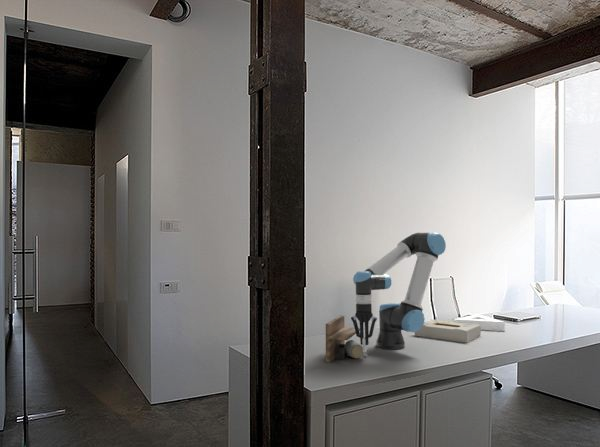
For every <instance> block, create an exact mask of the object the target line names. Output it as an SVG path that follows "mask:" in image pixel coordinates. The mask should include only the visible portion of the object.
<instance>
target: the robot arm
mask: <svg viewBox="0 0 600 447" xmlns="http://www.w3.org/2000/svg"><path fill="white" fill-rule="evenodd" d="M446 249H447V244H446V240H445V238H444V236H443V235H442V234H440V233H438V232H415V233H413V234H410V235H409V236H407V237H405V238H403V239H402V240H401V241H399V242H398V243H397V245H396V247H394V248H393V249H392V250H391V251H389V252H388V253H387V254H385V255H384V256H382V257H381V258H379V259H378V260H377V261H375V263H373V264H372V265H370V266H369V267H368V268H367V269H365V270H361V271H357V272H355V274H354V275H353V278H352V280H353V284H354V285H355V302H356V304H355V315H354V316H352V317H351V318H350V319H351V321H352V323H353V324H352V325H353V328H355V332H356V334H355V335H356V337H357V338H359V340H360V345H361V346H362V347H363V352H365V353H367V351H368V350H367V346H369V343H370V342H369V339H370V338H371V337H373V333H374V329H375V324H376V322H377V320H379V332H378V335H377V338H376V343H375V344H376V347H377V348H379V349H384V350H401V349H403V348H405V347H406V345H405V340H404V336H403V333H402V331H405V332H406V333H414V332H417V331H418V330H420V329H421V328H422V326H423V324H424V322H425V320H426V319H425V315H424V312H423V310H424V309H423V307H422V302H423V299H424V297H425V296H424V295H425V292H426V289H427V286H428V282H429V278H430V276H431V272H432V268H433V265H434V263H435V262H436V261H438V259H439V256H440V255H442V254H444V253H445V252H446ZM413 255H416V257H417V258H416V261H415V264H414V268H413V271H412V275H411V278H410V281H409V284H408V287H407V291H406V293H405V298H404V300H402V301H400V302H398V303H397V302H396V303H395V302H394V303H392V302H391V303H382V304H380V305H379V308H378V309H379V310H378V317H379V318H378V317H375V316H374V314H373V312H372V311H373V310H372V291H377V290H378V291H379V290H380V291H381V290H384V291H385V290H388V289H390V288H391V286H392V278H391V276H390V275H389V274H386V273H387V272H389V271H390V270H392V268H393V267H395V266H396V265H398V264H399V263H401V261H403V260H404V259H405V258H406V259H408V258H410V257H411V256H413ZM357 320H358V322H359V325H358V322H357ZM370 321H371V324H370V323H369V322H370ZM369 324H370V329H369ZM359 328H360V331H359Z"/></svg>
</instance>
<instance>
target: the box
mask: <svg viewBox="0 0 600 447" xmlns="http://www.w3.org/2000/svg"><path fill="white" fill-rule="evenodd" d="M481 332H482V330H481V328H480V325H477V324H469V323H466V324H463V323H455V322H454V321H445V320H438V319H429V320H426V321H424V324H423V326H422V328H421V329H420V330H418V331H417V332H413V333H414V336H416V337H417V336H418V337H423V338H430V339H439V340H444V341H454V342H459V343H460V342H461V343H469V342H471V341H473V340H475V339H477V338H479V337H481Z"/></svg>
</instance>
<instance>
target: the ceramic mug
mask: <svg viewBox="0 0 600 447" xmlns="http://www.w3.org/2000/svg"><path fill="white" fill-rule="evenodd" d="M344 348H345V353H346V354H347V355H348V356H349V357H351V358H353V359H360V358H362V356H363V357H367V356H368V353H367V352H363V345H361V343H358V342H357V341H355V340H354V339H348V340H346V342H345V345H344ZM347 355H346V356H347Z"/></svg>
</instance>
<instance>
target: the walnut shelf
mask: <svg viewBox="0 0 600 447" xmlns="http://www.w3.org/2000/svg"><path fill="white" fill-rule="evenodd" d="M358 328H359V332H360V327H358ZM355 335H356V332H355V328H354V327H350V326H349V327H348V326H345V315H342V314H341V315H339V316H337V317H336V318H333V319H332V320H329V321H328V322H327V323H325V363H331V362H332V361H333V360H335V359H341V360H342V359H343V360H345V358H346V356H349V355H347V354H346V353H345V348H344V345H345V343H346V342H345V341H349V340H351V338H352V337H353V336H355Z"/></svg>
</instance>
